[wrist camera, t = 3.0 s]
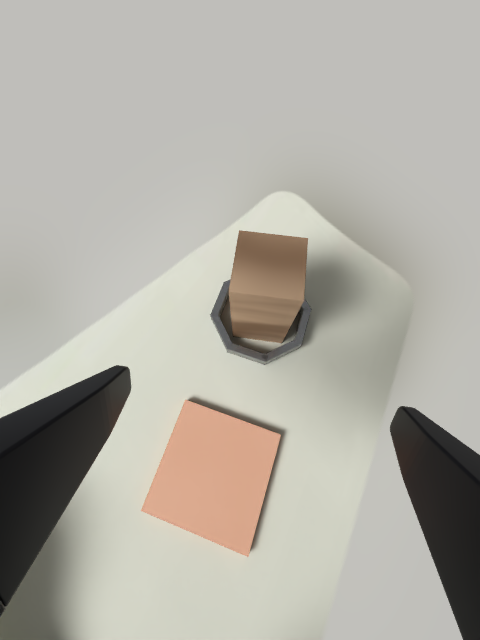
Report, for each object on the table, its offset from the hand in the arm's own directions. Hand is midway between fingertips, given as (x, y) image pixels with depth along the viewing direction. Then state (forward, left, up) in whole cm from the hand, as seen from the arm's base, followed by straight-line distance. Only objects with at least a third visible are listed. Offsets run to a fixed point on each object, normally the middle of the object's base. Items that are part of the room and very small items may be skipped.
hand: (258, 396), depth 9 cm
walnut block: (+8, +2, -14) cm, 16 cm away
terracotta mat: (-5, +1, -14) cm, 15 cm away
